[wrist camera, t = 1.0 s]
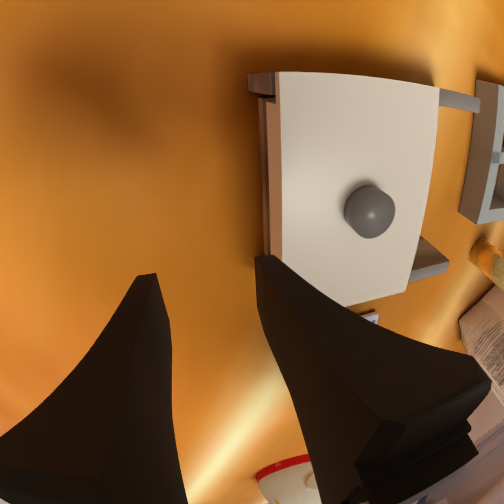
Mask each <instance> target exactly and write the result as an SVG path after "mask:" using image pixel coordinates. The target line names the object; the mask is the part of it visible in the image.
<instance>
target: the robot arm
mask: <svg viewBox="0 0 504 504" xmlns="http://www.w3.org/2000/svg"><path fill="white" fill-rule="evenodd" d="M254 258H255V277H256V297H257V309H258V312H259V316H260V320H261V323H262V327H263V330H264V333H265V336H266V338H267V341H268V343H269V345H270V348H271V350H272V352H273V355H274V357H275V359H276V362H277V364H278V366H279V369H280V371H281V373H282V376H283V378H284V380H285V382H286V385H287V387H288V390H289V392H290V395H291V398H292V401H293V404H294V407H295V410H296V413H297V417H298V420H299V423H300V426H301V430H302V433H303V437H304V440H305V443H306V447H307V450H308V454H309V457H310V461H311V465H312V468H313V472H314V476H315V479H316V483H317V487H318V491H319V495H320V499H321V503H322V504H504V420H502V421H501V422H500V423H499V424H497V425H496V426H495V427H494V428H493V429H491V430H490V431H489V432H487V433H486V434H484V435H483V436H482V437H480V438H479V439H477V440H476V441H475V442H472V440H471V439H470V437H469V436H468V434H467V433H469V432H470V431H471V426H470V424H469V423H468V421H467V418H468V417H469V416H470V415H471V414H472V413H473V411H474V410H475V409H476V408H477V407H478V406H479V405H480V403H481V402H482V401H483V399H484V398H485V397H486V396H487V394H488V393H489V391H490V389H491V385H492V380H491V379H490V378H489V376H488V375H487V374H486V372H485V371H484V370H483V368H482V367H481V366H480V365H479V363H478V362H477V361H476V359H475V358H474V357H473V356H471V355H467V354H462V353H458V352H454V351H450V350H445V349H441V348H438V347H434V346H431V345H428V344H425V343H422V342H419V341H416V340H413V339H410V338H407V337H405V336H402V335H400V334H397V333H395V332H393V331H390V330H388V329H386V328H383V327H381V326H379V325H377V321H378V317H379V315H378V313H377V312H372V313H368V314H364V315H360V316H359V315H357V314H356V313H354V312H352V311H350V310H348V309H347V308H345V307H343V306H342V305H340V304H339V303H337V302H336V301H334V300H332V299H331V298H329V297H328V296H326V295H325V294H323V293H322V292H321V291H319V290H318V289H316V288H315V287H314V286H312V285H311V284H310V283H308V282H307V281H306V280H304V279H303V278H302V277H301V276H299V275H298V274H297V273H296V272H294V271H293V270H292V269H291V268H290V267H288V266H287V265H286V264H285V263H283V262H282V261H281V260H280V259H279V258H277V257H276V256H275V255H274V254H273V255H267V256H261V257H254ZM0 498H1V499H3V500H4V501H6V502H8V503H10V504H188V501H187V497H186V493H185V488H184V484H183V479H182V475H181V470H180V464H179V459H178V453H177V447H176V441H175V434H174V427H173V419H172V343H171V332H170V321H169V318H168V314H167V311H166V308H165V304H164V301H163V297H162V294H161V290H160V286H159V283H158V279H157V275H156V273H152V274H146V275H139V276H137V277H136V278H135V280H134V281H133V283H132V285H131V286H130V288H129V290H128V291H127V293H126V295H125V296H124V298H123V300H122V301H121V303H120V305H119V306H118V308H117V310H116V311H115V313H114V314H113V316H112V318H111V319H110V321H109V322H108V324H107V325H106V327H105V328H104V330H103V331H102V333H101V334H100V336H99V337H98V339H97V340H96V341H95V343H94V344H93V346H92V347H91V348H90V350H89V351H88V352H87V354H86V355H85V356H84V358H83V359H82V360H81V361H80V362H79V364H78V365H77V366H76V367H75V369H74V370H73V371H72V372H71V373H70V374H69V375H68V376H67V377H66V378H65V379H64V381H63V382H62V383H61V384H60V385H59V386H58V387H57V388H56V389H55V390H54V391H53V392H52V393H51V394H50V395H49V396H48V397H47V398H46V399H45V400H44V401H43V402H42V403H41V404H40V405H39V406H38V407H37V408H36V409H35V410H33V411H32V412H31V413H30V414H29V415H28V416H27V417H25V418H24V419H23V420H22V421H21V422H19V423H18V424H17V425H15V426H14V427H13V428H12V429H10V430H9V431H8V432H6V433H5V434H4V435H2V436H1V437H0Z"/></svg>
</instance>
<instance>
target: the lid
mask: <svg viewBox="0 0 504 504" xmlns="http://www.w3.org/2000/svg"><path fill="white" fill-rule="evenodd" d="M439 90H440V88H437V87H432V86H428V85H422V84H417V83H411V82H405V81H399V80H392V79H385V78H378V77H369V76H360V75H349V74H335V73H317V72H275V93H276V101H266V113H267V140H268V170H269V205H270V249H271V255H273V254H274V255H275V256H276V257H277V258H279V259H280V260H281V261H282V262H283V263H285V264H286V265H287V266H288V267H290V268H291V269H292V270H293V271H294V272H296V273H297V274H298V275H299V276H301V277H302V278H303V279H304V280H306V281H307V282H308V283H310V284H311V285H312V286H314V287H315V288H316V289H318V290H319V291H321V292H322V293H323V294H325V295H326V296H328V297H329V298H331V299H332V300H334V301H336V302H337V303H339V304H340V305H342V306H343V307H347V306H351V305H355V304H359V303H363V302H367V301H371V300H375V299H378V298H382V297H386V296H390V295H393V294H397V293H401V292H404V291H405V290H406V287H407V283H408V280H409V276H410V273H411V269H412V265H413V261H414V258H415V254H416V250H417V245H418V241H419V237H420V232H421V228H422V223H423V218H424V214H425V208H426V203H427V198H428V192H429V186H430V180H431V174H432V167H433V159H434V151H435V143H436V133H437V122H438V109H439Z"/></svg>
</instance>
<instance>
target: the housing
mask: <svg viewBox="0 0 504 504" xmlns="http://www.w3.org/2000/svg"><path fill="white" fill-rule="evenodd" d="M248 91H250V92H256V93H262V94H267V95H276V93H275V72H265V73H252V74H248ZM480 99H481V98H477V97H474V96H470V95H466V94H462V93H458V92H454V91H450V90H446V89H441V88H440V90H439V106H445V107H450V108H456V109H461V110H466V111H470V112H475V113H480ZM266 101H276V97H259V98H258V111H259V134H260V157H261V182H262V209H263V237H264V254H265V256H267V255H271V249H270V205H269V170H268V140H267V113H266ZM449 262H450V261H449V260H448V259H447V258H446V257H445V256H444V255H443V254H442V253H440V252H439V251H438V250H437V249H436V248H435V247H433V246H432V245H431V244H430V243H429V242H427V241H426V240H425V239H424V238H423V237H422V236H420V237H419V241H418V245H417V250H416V254H415V258H414V261H413V265H412V269H411V273H410V276H409V280H408V283H409V282H413V281H417V280H420V279H424V278H428V277H431V276H435V275H438V274H442V273H445V272H447V269H448V266H449Z"/></svg>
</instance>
